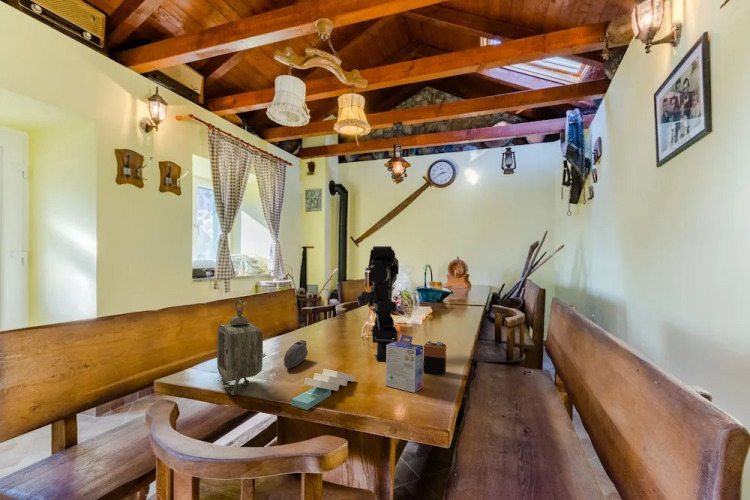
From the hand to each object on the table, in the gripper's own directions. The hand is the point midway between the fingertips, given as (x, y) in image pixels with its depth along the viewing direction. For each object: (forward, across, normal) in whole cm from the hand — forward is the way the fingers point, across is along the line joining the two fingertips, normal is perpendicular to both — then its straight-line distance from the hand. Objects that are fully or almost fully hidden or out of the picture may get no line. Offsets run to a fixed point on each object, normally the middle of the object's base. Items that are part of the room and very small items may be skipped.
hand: (380, 330), depth 109 cm
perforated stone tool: (+13, -12, -28) cm, 33 cm away
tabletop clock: (+15, +5, -42) cm, 45 cm away
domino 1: (+14, +11, -16) cm, 24 cm away
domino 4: (+13, +5, -11) cm, 18 cm away
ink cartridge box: (+14, +13, +5) cm, 20 cm away
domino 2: (+14, +14, -19) cm, 27 cm away
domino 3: (+14, +8, -14) cm, 21 cm away
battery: (+13, +3, +18) cm, 22 cm away
